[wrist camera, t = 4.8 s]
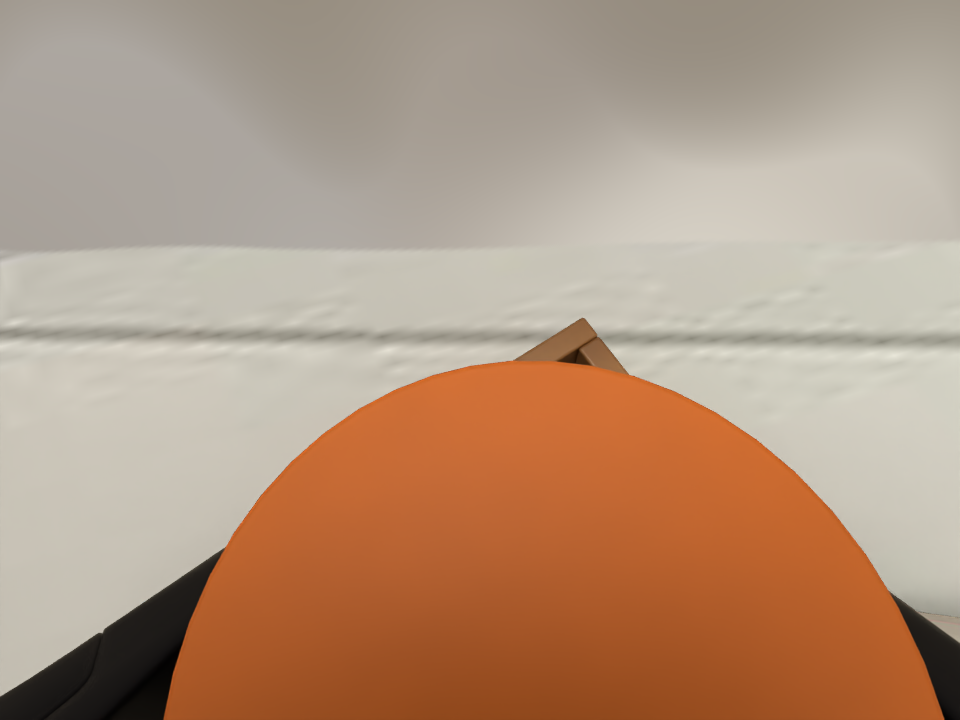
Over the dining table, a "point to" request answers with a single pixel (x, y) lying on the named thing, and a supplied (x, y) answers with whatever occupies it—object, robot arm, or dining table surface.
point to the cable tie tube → (544, 570)
